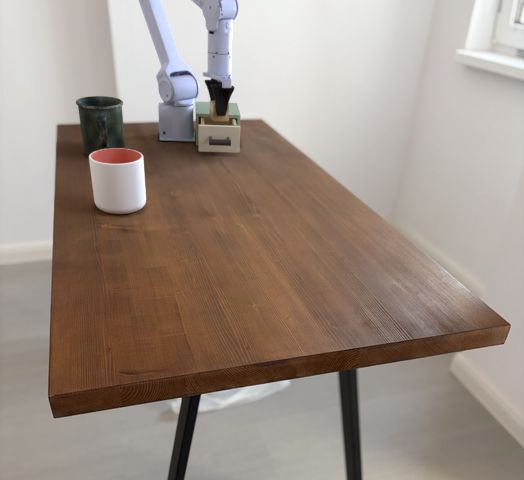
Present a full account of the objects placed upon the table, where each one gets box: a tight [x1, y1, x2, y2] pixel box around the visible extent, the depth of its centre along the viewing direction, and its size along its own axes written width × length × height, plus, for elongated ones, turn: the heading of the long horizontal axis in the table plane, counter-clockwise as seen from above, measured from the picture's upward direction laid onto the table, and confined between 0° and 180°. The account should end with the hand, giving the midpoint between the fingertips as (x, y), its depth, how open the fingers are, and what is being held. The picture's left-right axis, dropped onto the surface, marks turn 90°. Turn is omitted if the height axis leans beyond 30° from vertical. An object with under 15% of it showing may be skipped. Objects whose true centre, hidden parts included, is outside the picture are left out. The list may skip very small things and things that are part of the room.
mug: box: [75, 95, 126, 157], centre depth 131 cm, size 11×15×12 cm
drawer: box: [198, 117, 241, 154], centre depth 141 cm, size 17×10×6 cm, turn 6°
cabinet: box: [194, 100, 241, 147], centre depth 150 cm, size 14×12×8 cm
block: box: [209, 100, 229, 121], centre depth 137 cm, size 4×4×4 cm
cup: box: [88, 148, 147, 215], centre depth 107 cm, size 10×10×10 cm
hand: (218, 113), depth 138 cm, fingers closed on block, 4 cm apart
